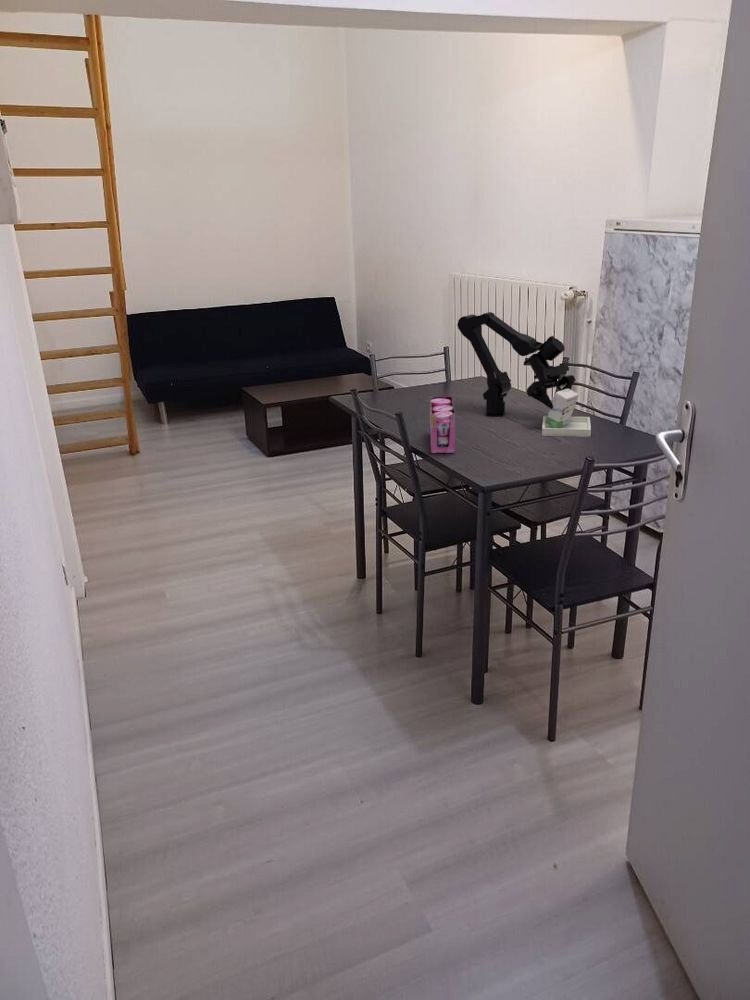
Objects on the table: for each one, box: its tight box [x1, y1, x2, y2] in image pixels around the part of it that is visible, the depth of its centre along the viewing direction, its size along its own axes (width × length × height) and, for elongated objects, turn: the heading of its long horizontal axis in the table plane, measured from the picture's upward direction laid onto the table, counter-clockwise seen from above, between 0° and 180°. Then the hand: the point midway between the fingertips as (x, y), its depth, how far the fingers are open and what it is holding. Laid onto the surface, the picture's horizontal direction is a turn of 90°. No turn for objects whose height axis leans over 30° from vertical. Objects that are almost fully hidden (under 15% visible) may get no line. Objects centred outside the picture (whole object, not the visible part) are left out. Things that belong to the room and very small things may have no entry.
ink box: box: [546, 389, 580, 428], centre depth 262 cm, size 8×5×12 cm, turn 136°
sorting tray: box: [541, 415, 592, 438], centre depth 263 cm, size 16×16×2 cm
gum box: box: [429, 395, 456, 453], centre depth 251 cm, size 24×8×14 cm, turn 177°
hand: (562, 405), depth 262 cm, fingers closed on ink box, 9 cm apart
